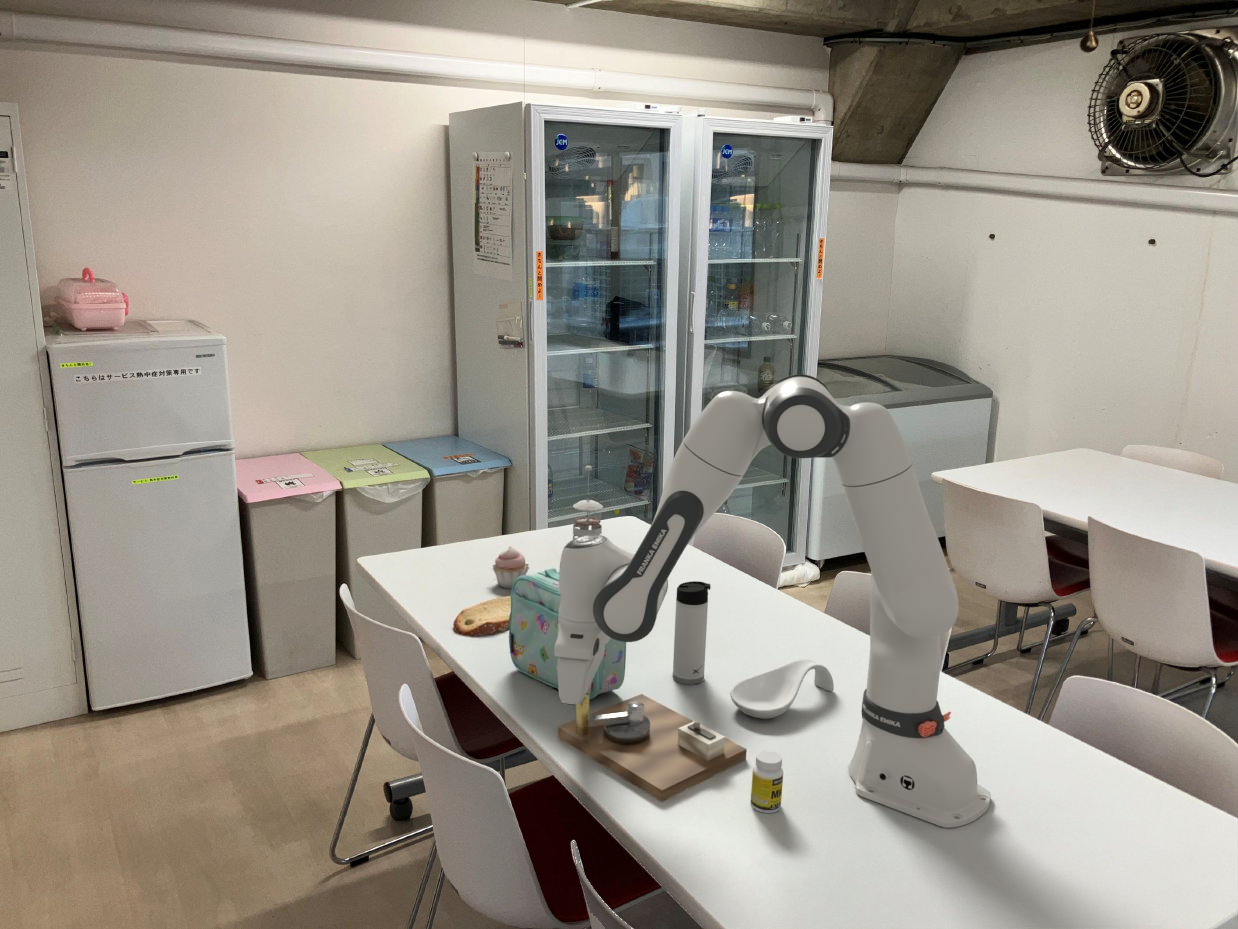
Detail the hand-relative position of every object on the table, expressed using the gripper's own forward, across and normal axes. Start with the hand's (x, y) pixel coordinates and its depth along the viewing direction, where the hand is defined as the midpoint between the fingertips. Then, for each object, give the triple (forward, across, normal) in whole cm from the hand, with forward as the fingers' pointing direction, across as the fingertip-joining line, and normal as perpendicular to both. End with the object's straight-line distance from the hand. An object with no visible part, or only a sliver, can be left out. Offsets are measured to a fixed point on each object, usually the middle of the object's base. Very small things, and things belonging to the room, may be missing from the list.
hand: (582, 703), depth 170 cm
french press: (+8, -100, -21) cm, 103 cm away
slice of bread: (+8, -49, -32) cm, 59 cm away
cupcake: (+8, -72, -34) cm, 80 cm away
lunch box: (+8, -23, -9) cm, 26 cm away
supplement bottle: (+8, +13, +32) cm, 35 cm away
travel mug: (+8, -29, +15) cm, 34 cm away
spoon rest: (+8, -23, +34) cm, 42 cm away
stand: (+7, 0, +12) cm, 14 cm away
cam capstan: (+5, 0, +5) cm, 7 cm away
